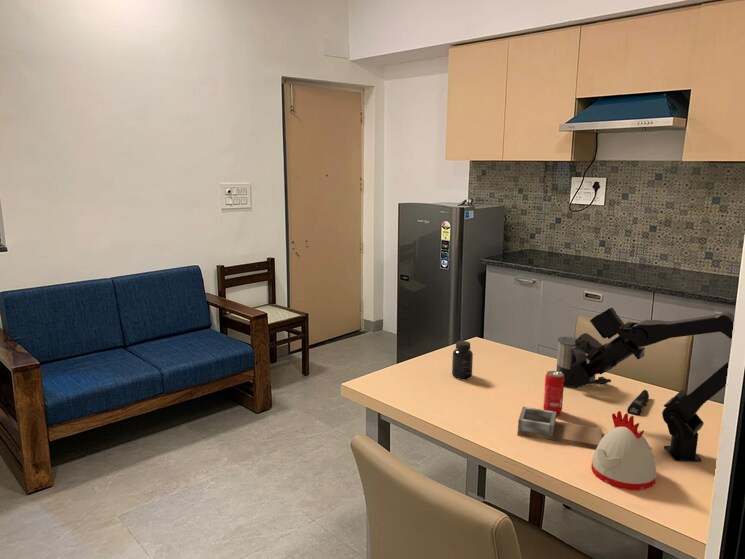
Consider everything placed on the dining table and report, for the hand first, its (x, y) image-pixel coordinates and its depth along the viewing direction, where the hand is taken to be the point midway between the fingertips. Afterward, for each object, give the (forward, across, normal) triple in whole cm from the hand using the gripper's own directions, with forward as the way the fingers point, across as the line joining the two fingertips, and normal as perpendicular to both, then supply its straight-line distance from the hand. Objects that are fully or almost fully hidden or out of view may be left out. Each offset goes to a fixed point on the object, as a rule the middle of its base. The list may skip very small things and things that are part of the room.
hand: (571, 379), depth 160 cm
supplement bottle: (+37, -5, -20) cm, 43 cm away
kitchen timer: (-8, +19, +24) cm, 32 cm away
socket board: (+6, +11, +10) cm, 16 cm away
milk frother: (+14, -27, +3) cm, 30 cm away
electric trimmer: (0, -22, +17) cm, 28 cm away
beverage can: (+12, 0, +5) cm, 13 cm away
